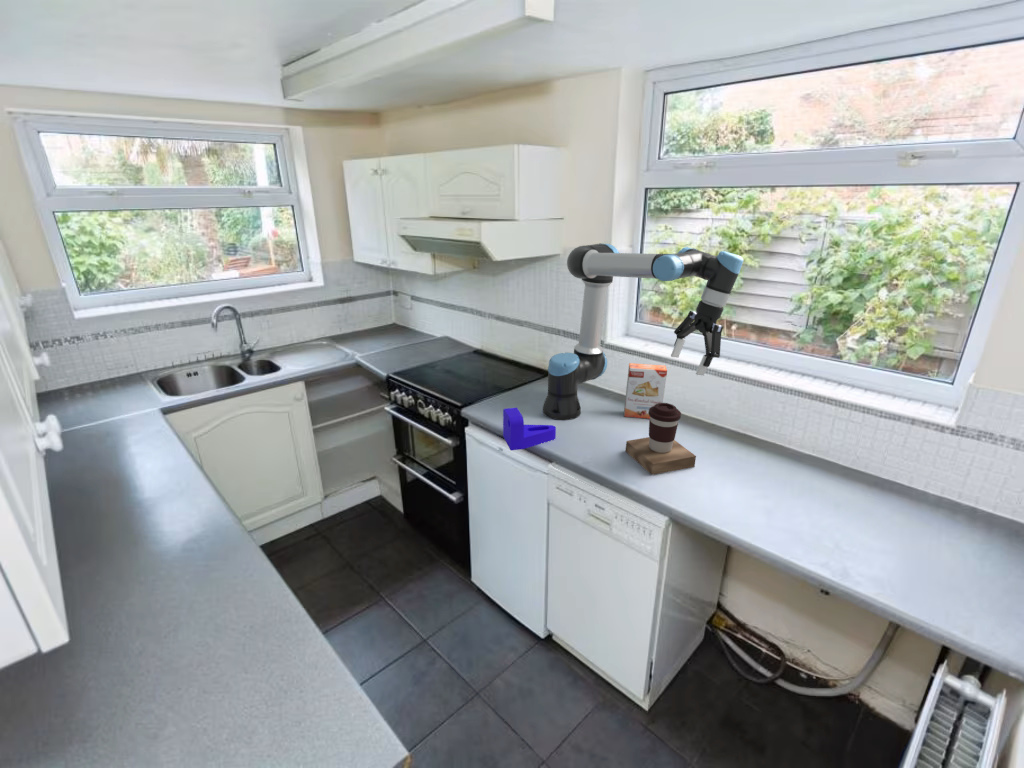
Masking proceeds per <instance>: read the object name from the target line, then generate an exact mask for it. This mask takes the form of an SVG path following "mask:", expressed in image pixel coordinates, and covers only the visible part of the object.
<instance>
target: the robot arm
mask: <svg viewBox="0 0 1024 768" xmlns="http://www.w3.org/2000/svg"><path fill="white" fill-rule="evenodd" d="M743 263H744V258H743V257H742V256H741V255H738V254H735V253H733V252H729V251H723V250H721V251H719V252H718V254H717V255H714V254H710V253H707V252H705V251H702V250H699V249H697V248H692V247H687V246H685V247H683V248H681V249H680V250H678V252H677V253H641V252H639V253H636V252H635V253H633V252H631V253H630V252H628V253H627V252H625V253H624V252H619V250H618V249H617V247H616V246H614V245H612V244H610V243H595V244H587V245H579V246H577V247H575V248H574V249H572V250H571V252H570V253H569V254H568V256H567V259H566V266H567V269H568V272H569V273H570V275H572V276H573V277H574V278H576V279H580V280H581V281H582V282H583V284H584V292H583V299H582V310H581V317H580V328H579V334H578V335H579V336H578V343H577V344H576V345H574V347H573V352H560V353H556V354H554V355H553V356H551V357H550V358H549V361H548V367H547V370H548V372H547V373H548V374H547V394H546V397H545V399H544V402H543V405H542V413H543V415H544V416H546V417H548V418H550V419H554V420H559V421H568V420H574V419H576V418H579V417H580V415H581V413H582V411H581V409H582V407H581V404H580V399H579V396H578V385H580V384H582V383H583V384H584V383H586V382H589V381H591V380H592V381H593V380H596V379H598V378H600V377H601V376H603V375H604V374H605V372H606V370H607V367H608V359H607V357H606V353H605V352H604V348H603V347H602V346H601V342H602V334H603V333H602V332H603V326H604V319H605V318H604V317H605V309H606V303H607V295H608V287H609V286H610V285H612V283H613V279H614V277H618V278H619V277H620V278H639V279H640V278H641V279H657V280H659V281H662V282H671V281H675V280H678V279H679V280H680V279H685V278H689V277H696V278H700V279H703V280H705V281H706V284H705V287H704V289H703V290H702V291H703V292H702V293H701V297H700V300H699V302H698V304H697V307H696V309H695V311H693V310H689V312H688V314H687V316H686V317H685V318H684V319H683V320H682V322H680V324H679V325H678V326H677V328H675V330H674V331H673V333H674V335H676V338H675V339H676V340H675V342H674V344H673V349H672V352H671V354H670V357H671V358H676V359H677V358H679V357H680V355H681V352H682V350H683V347H684V345H685V343H686V338H687V337H688V336H690V335H691V334H693V332H695V331H698V332H700V333H701V335H702V336H703V339H704V348H705V349H704V350H705V354H703V356H702V358H701V360H700V363H699V365H698V368H697V370H696V373H695V375H697V376H705V374H706V371H707V370H708V367H710V365H711V363H712V361H713V359H714V358H720V357H721V344H722V332H723V329H724V325H721V324H717V321H718V320H720V318H721V316H722V314H723V312H724V310H725V309H724V307H725V306H726V305H727V302H728V300H729V298H730V294H731V293H732V290H733V289H734V288H733V287H734V286H735V283H736V281H737V279H738V277H739V274H740V272H741V269H742V267H743Z"/></svg>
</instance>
